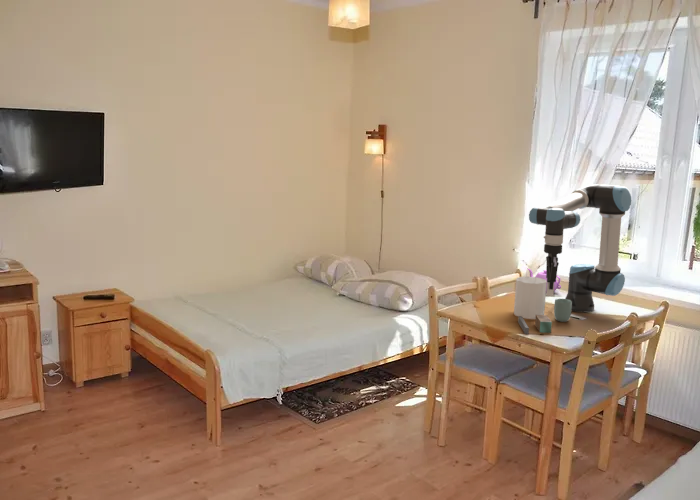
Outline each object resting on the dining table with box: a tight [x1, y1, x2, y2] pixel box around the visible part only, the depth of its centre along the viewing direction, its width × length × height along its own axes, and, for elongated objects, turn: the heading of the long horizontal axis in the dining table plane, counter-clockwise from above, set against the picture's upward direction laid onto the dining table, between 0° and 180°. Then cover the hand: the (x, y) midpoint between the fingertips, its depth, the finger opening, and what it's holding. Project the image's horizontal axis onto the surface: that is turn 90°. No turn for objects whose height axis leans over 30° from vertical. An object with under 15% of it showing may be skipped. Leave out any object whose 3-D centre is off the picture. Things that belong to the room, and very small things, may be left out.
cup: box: [553, 298, 572, 323], centre depth 296 cm, size 8×8×10 cm
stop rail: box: [517, 316, 530, 335], centre depth 284 cm, size 2×18×3 cm, turn 175°
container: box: [513, 276, 547, 320], centre depth 304 cm, size 14×14×18 cm
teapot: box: [527, 268, 562, 293], centre depth 350 cm, size 20×14×12 cm
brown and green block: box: [534, 314, 553, 334], centre depth 283 cm, size 5×5×11 cm
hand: (549, 295), depth 273 cm, fingers closed
